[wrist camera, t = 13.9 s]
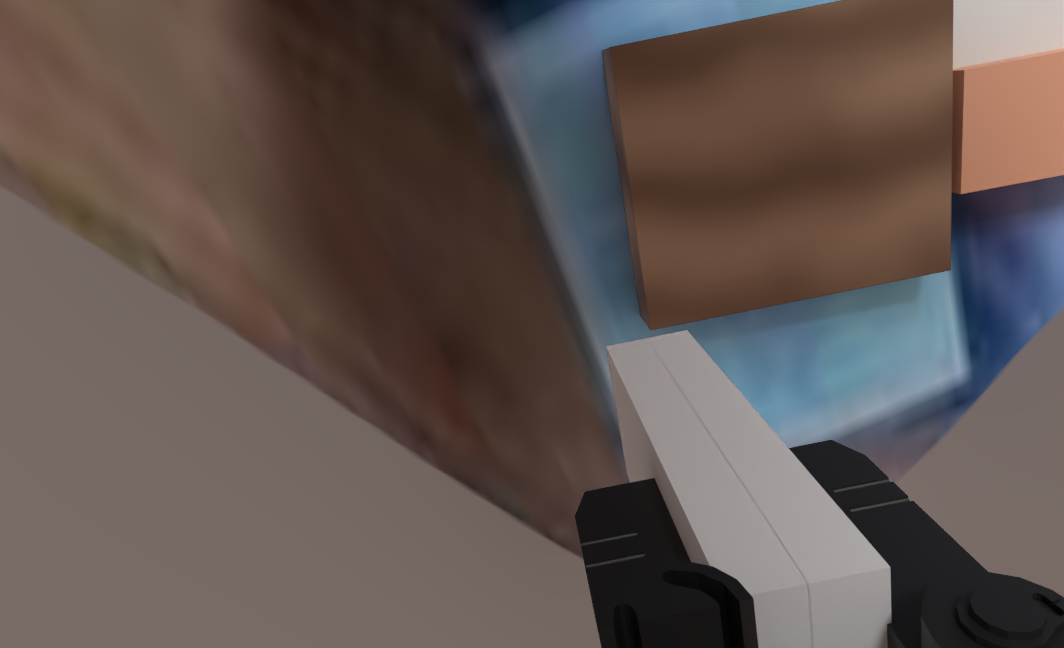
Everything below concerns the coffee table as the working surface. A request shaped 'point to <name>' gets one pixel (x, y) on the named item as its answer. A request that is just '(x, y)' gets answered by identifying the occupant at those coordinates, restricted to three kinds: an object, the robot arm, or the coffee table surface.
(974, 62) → the mat
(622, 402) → the robot arm
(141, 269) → the coffee table surface
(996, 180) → the salmon flat rectangular block
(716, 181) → the board
